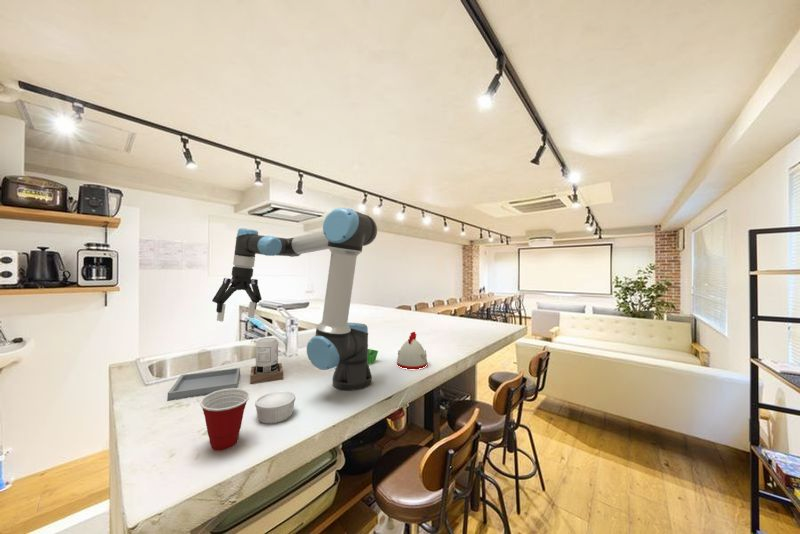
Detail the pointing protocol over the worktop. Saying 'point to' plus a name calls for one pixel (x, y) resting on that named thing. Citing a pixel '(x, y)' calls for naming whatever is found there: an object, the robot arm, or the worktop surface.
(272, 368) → the supplement can
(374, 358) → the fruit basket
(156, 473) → the worktop surface
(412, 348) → the kitchen timer
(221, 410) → the plastic cup
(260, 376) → the walnut collar holder
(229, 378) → the slate tray
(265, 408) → the ramekin
